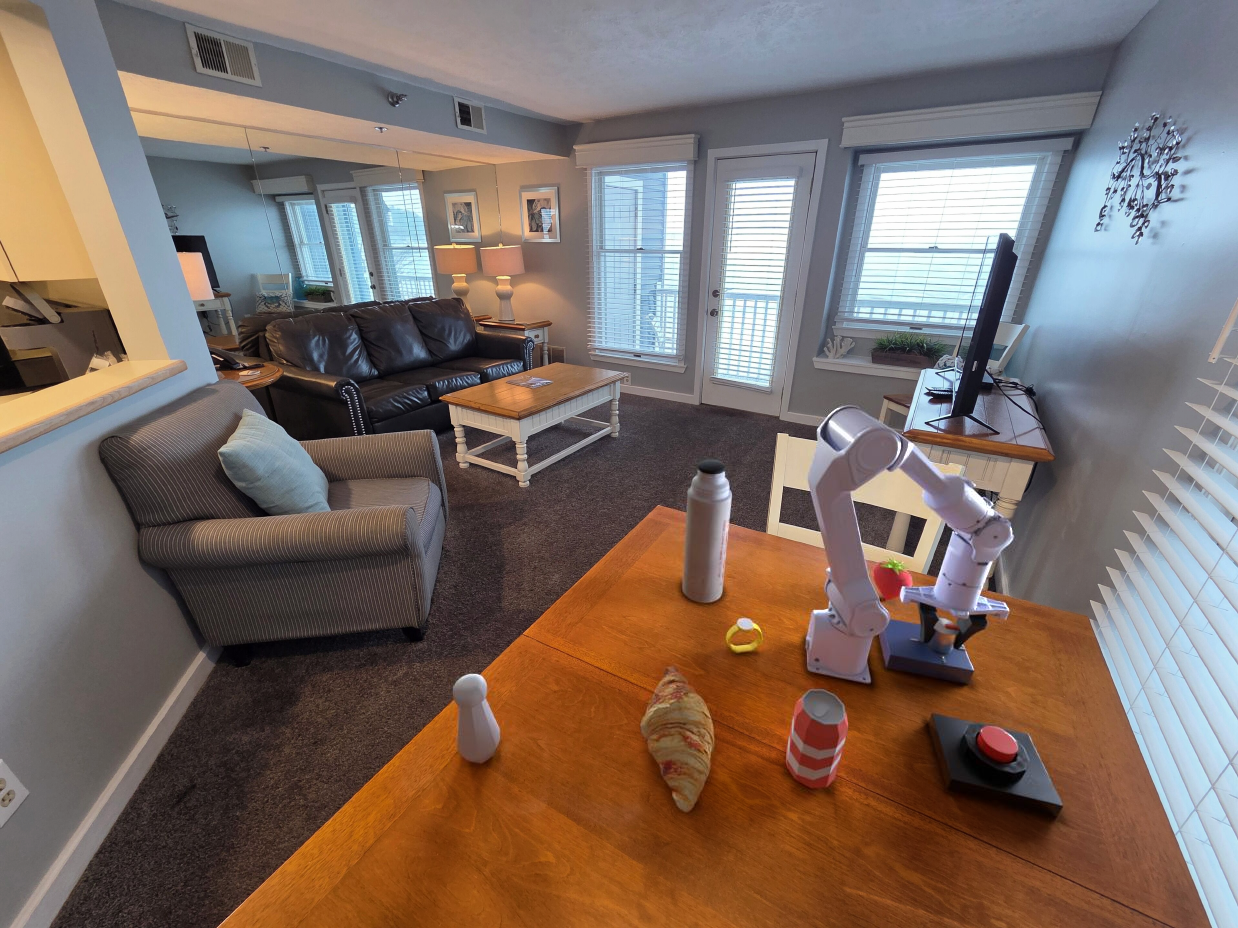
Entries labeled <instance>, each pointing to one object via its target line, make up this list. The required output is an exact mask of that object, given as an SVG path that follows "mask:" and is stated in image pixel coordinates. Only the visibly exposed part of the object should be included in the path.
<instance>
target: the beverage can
mask: <svg viewBox="0 0 1238 928" xmlns="http://www.w3.org/2000/svg"><path fill="white" fill-rule="evenodd" d="M790 725H791V726H790V730H789V736H788V741H787V745H786V750H785V766H786V768H787V770H789V773H790V774H791V775H792V777H793V778H794V780H796V781H797V782H799V783H801V784H802V785H805V786H806V787H808V788H810V789H826V788H827V787H828V786H829V785H830V784H831V783H832V782H833V781H834V780H835V779H836V775H837V771H838V769H839V765H840V764H839V763H840V761H841V756H842V753H843V750H844V745H845V742H846V737H847V734H848V730H849V722H848V715H847V712H846V707H845V704H844V703H843V701H841V699H839V697H838V696H837V695H836V694H834V693H831V692H829V691H827V690H825V689H823V688H820V689H814V688H813V689H808V690H807V691H806V692H805V693H804V694H803V695H802V696H801V698H800V699H798V701H796V702H795V706H794V710H793V716H792V721H791V724H790Z"/></svg>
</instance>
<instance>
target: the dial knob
mask: <svg viewBox="0 0 1238 928" xmlns="http://www.w3.org/2000/svg"><path fill="white" fill-rule="evenodd" d="M938 618H939V621H938V622H937V623H936V625H935V626H934V628H933V630H932V633H931V636H930V640H929V642H928V643H927V644H926V645H927V646H928V647H929V648H931V649H932V650H934V651H936V652H939V653H950V652H951V651H952V649H953V646H954V644H955V641H956V638H957V635H958V633H959V627H958V626H956V623H954V622H953V621H951V620H949V619H948V618H947V619H946V618H944V617H938Z"/></svg>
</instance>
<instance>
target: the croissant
mask: <svg viewBox="0 0 1238 928" xmlns="http://www.w3.org/2000/svg"><path fill="white" fill-rule="evenodd" d="M688 682H689V681H688V679H687V678H686V677H685V676H684V675H683V674H682V673H681V671H679V670H678V668H677V667H676V666H668V667H667V668H665V670H664V672H663V678H662V679H661V680H660V681H659V683H658V684H657V686H656V687H655V689H654V691H653V695H652V698H651V699H650V700H649V701H648V703H647V707H646V711H645V714H644V716H643V717H642V718H641V720H640V725H639V730H640V732H641V736H642V737H643V738H644V740H645V742H646V744H647V749H648V753H649V754H650V756H653V758H654V760H655V762H656V763H657V765H658V766H659V769H660V773H661V776H662V779H663V780H664V781H665V782H666V783H667V785H668V787H669V788H670V789H671V795H672V799H673V800H674V802H675V804H676V806H677V808H678V809H679V810H681V811H682V812H684V813H689V812H690V811H691V810H692V809H693V808H694V807H695V804H696V803H697V801H698V799H699V798H700V793H701V792H702V790H703V789H704V786H705V783H706V781H707V779H708V778H709V775H710V770H711V757H712V756H711V753H712V752H713V751H714V747H715V734H714V733H715V730H714V725H713V721H712V717H711V714H710V711H709V709H708V706H707V705H706V703H705V700H704V699H703V698H702V697H701V696H700V695H699V694H698V693H697V692H696V690H695V688H694V687H693V686H691V685H689V683H688Z"/></svg>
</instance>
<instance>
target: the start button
mask: <svg viewBox="0 0 1238 928" xmlns="http://www.w3.org/2000/svg"><path fill="white" fill-rule="evenodd" d="M996 727H997V726H996ZM996 727H992V726H986V727H984V728H982V729H981V732H980V734H979V736H978V739H977V743H978V746H979V748H980V749H981V750H982V751H983V752H984V753H985V754H986V755H987V756H989V757H991V758H992V759H994V760H996V761H998V762H1002V763H1008V762H1011V761H1012V760H1013V759H1014V757H1015V755H1016V753H1017V751H1018V746H1017V743H1016V741H1015V740H1014V739H1013V738H1012V737H1011V736H1010V735H1009V734H1008V733H1006V732H1005V731H1003V730H1001V729H999V728H1000V727H998V728H996Z"/></svg>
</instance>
